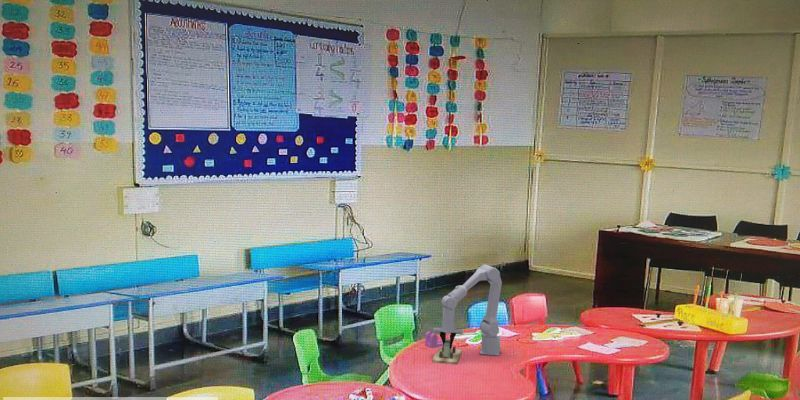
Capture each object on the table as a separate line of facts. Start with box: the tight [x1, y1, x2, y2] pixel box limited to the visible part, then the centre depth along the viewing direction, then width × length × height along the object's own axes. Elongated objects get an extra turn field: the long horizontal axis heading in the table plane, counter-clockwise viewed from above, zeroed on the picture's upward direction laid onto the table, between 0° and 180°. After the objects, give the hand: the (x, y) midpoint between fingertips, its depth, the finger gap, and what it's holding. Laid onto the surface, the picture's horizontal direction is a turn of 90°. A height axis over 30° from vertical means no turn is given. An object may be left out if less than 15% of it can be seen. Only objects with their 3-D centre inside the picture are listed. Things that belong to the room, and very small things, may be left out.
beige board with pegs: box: [431, 346, 463, 365], centre depth 358 cm, size 12×20×4 cm, turn 168°
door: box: [444, 338, 452, 357], centre depth 358 cm, size 2×10×6 cm, turn 168°
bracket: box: [424, 331, 443, 349], centre depth 378 cm, size 13×6×7 cm, turn 123°
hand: (447, 347), depth 358 cm, fingers closed on door, 2 cm apart
